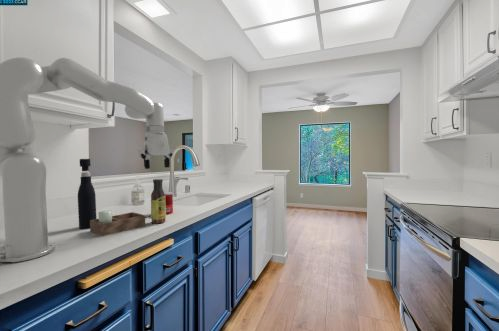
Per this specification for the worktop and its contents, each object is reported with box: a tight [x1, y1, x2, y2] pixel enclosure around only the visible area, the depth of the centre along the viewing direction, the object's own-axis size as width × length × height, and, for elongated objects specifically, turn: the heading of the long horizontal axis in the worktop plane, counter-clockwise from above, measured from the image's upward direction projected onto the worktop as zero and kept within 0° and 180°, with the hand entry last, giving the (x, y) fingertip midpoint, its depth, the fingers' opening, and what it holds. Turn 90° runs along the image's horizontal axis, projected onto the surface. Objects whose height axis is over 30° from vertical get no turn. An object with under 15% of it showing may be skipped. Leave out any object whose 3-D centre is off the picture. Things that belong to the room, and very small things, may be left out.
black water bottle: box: [77, 158, 97, 230], centre depth 101 cm, size 6×6×30 cm
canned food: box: [164, 191, 174, 216], centre depth 125 cm, size 8×8×11 cm
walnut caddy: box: [89, 211, 146, 237], centre depth 99 cm, size 17×12×4 cm, turn 142°
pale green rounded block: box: [98, 210, 113, 224], centre depth 95 cm, size 5×5×7 cm
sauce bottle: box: [150, 178, 167, 224], centre depth 106 cm, size 7×6×20 cm
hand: (157, 168), depth 106 cm, fingers open, 9 cm apart
